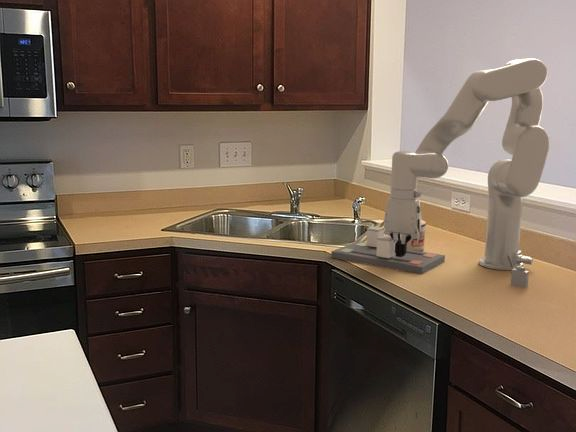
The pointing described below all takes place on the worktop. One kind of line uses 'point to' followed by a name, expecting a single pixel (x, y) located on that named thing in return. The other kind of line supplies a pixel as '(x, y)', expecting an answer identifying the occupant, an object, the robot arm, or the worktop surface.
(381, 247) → the beige slider knob
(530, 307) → the worktop surface
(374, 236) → the on switch
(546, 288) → the worktop surface
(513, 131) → the robot arm
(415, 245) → the teacup with lid
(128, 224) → the worktop surface
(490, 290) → the worktop surface
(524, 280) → the lighter
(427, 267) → the panel
